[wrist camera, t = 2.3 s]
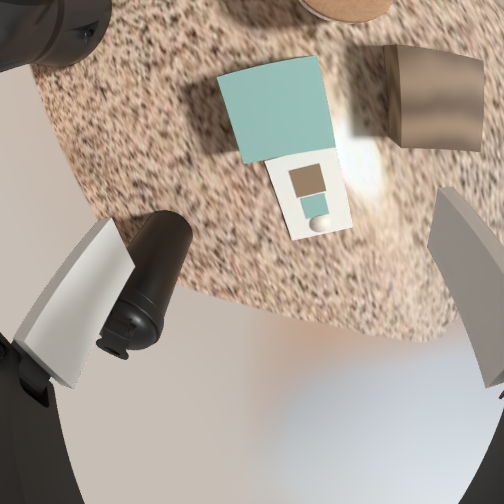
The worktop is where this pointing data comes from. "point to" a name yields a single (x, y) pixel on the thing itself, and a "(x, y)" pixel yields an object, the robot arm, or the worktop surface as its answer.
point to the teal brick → (278, 109)
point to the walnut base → (434, 98)
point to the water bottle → (147, 284)
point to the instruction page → (311, 192)
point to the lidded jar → (347, 9)
